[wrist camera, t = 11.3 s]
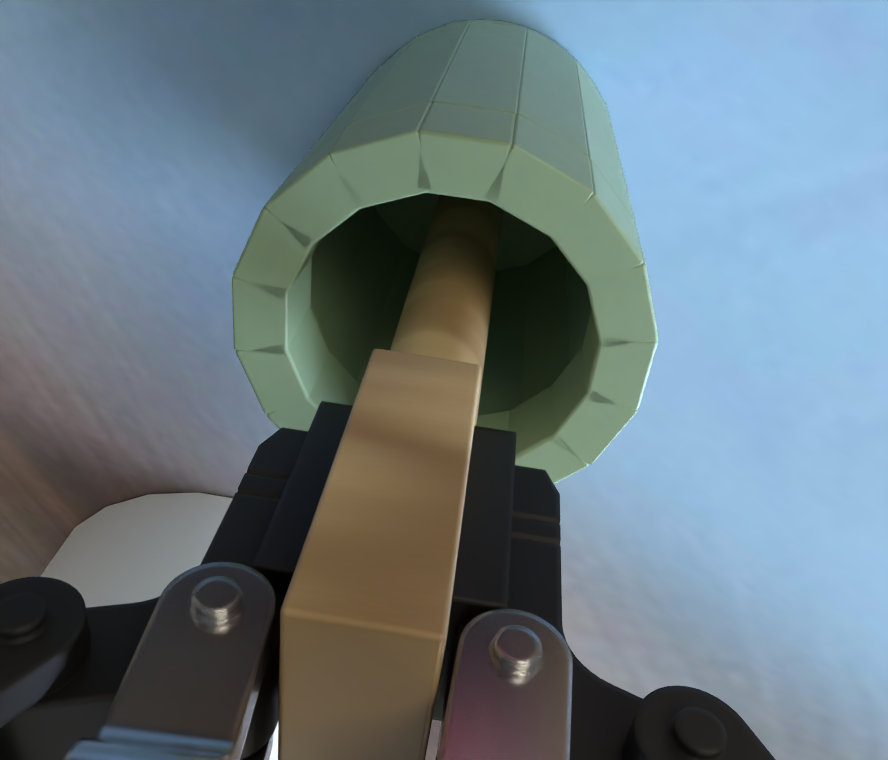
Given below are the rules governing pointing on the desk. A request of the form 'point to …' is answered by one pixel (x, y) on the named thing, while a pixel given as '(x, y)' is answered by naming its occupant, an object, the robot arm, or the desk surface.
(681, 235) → the desk surface
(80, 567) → the cylinder
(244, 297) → the jar
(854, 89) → the desk surface
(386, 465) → the wooden paddle
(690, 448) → the desk surface
